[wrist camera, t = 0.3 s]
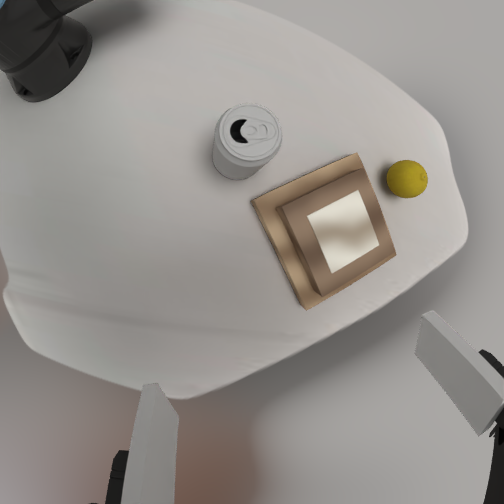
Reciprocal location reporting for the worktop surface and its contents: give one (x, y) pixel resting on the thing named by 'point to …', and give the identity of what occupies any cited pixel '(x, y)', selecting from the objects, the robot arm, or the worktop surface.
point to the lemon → (407, 179)
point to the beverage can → (245, 140)
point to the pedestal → (326, 229)
